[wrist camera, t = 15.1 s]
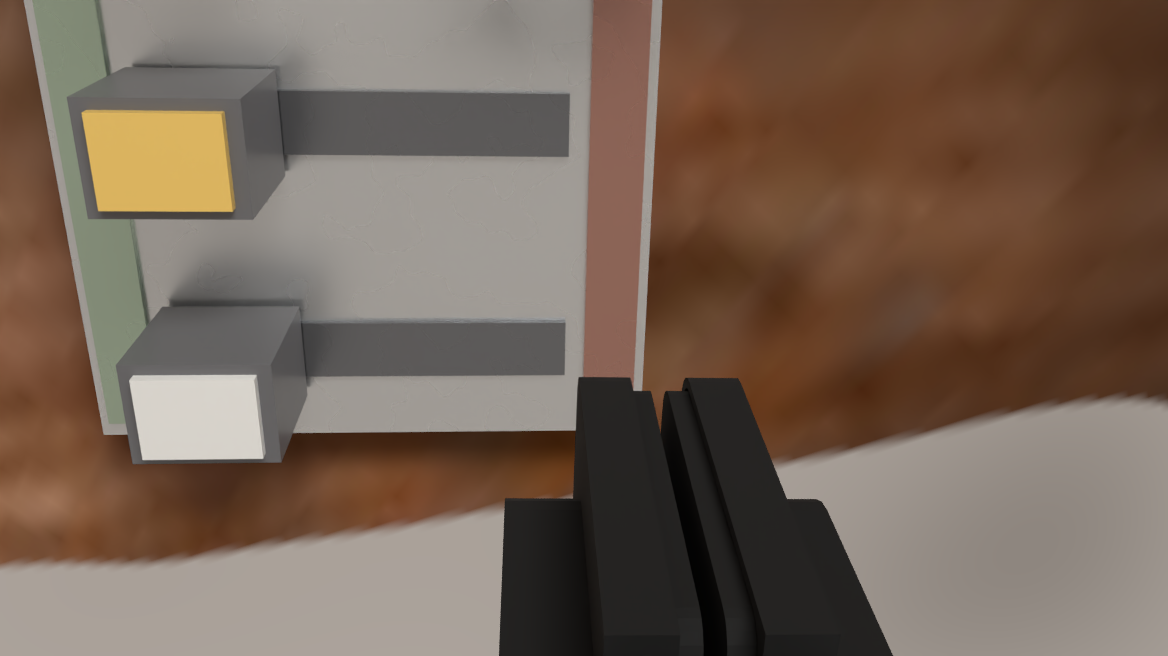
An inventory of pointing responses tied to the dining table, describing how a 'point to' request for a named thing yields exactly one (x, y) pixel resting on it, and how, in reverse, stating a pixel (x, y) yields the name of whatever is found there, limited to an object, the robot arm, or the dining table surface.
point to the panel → (394, 198)
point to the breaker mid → (178, 143)
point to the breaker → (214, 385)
